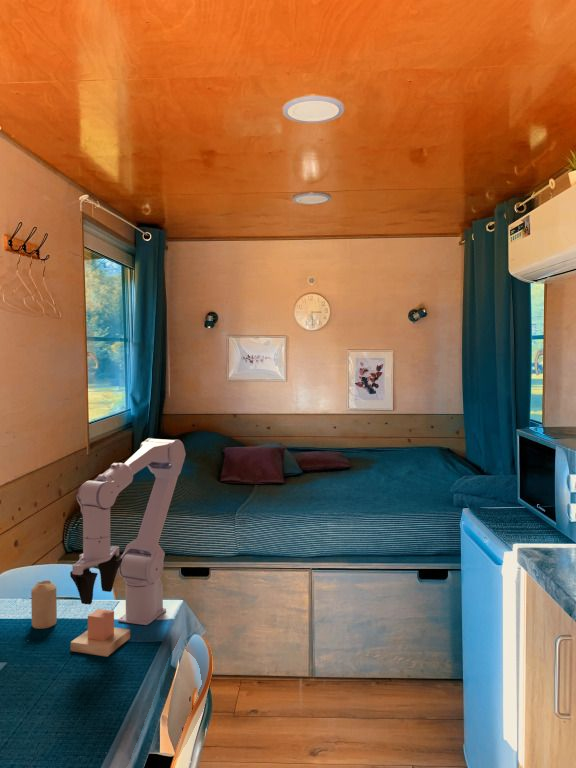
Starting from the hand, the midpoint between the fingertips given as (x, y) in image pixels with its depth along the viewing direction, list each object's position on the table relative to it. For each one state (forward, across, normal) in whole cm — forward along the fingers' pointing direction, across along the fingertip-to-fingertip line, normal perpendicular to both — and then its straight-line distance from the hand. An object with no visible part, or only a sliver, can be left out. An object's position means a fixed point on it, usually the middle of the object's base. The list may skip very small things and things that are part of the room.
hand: (97, 597), depth 132 cm
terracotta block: (+8, 0, +1) cm, 9 cm away
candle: (+11, -5, -18) cm, 22 cm away
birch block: (+11, 0, +1) cm, 11 cm away
